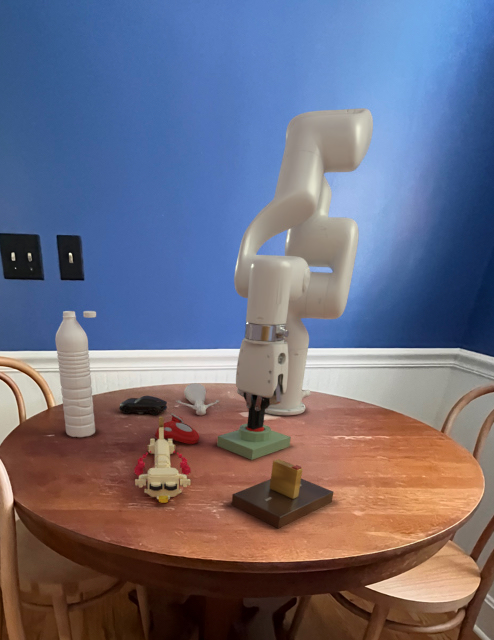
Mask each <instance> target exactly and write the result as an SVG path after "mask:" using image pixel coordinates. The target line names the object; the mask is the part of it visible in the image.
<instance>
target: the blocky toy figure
mask: <svg viewBox="0 0 494 640" xmlns="http://www.w3.org/2000/svg"><path fill="white" fill-rule="evenodd" d="M164 420H165V418H164V416H158V427H159V439H157V440H155V438H150V439H149V444H147V446H146V447H147V449H146V450H147V451H148V452H147V451H146V452H145V453H142V456H140V457H138V459H137V464H136V465H135V467H134V468H133V469H134V470H133V472H134V474H135V475H136V476H137V477H138V479H137V478H135V479H134V483H135V484H134V485H135V486H136V487H137V486H138V488H143V486H145V487H146V486H147V488H144V491H143V492H144V494H147V495H149V497H151V498H156V500H158V503H161V504H164V503H165V504H166V503H169V500H171V498H175V497H177V496H178V495H179V494H181V493H182V492H183V490H182V488H180V486H183V488H187V487H188V486H191V483H192V482H191V481H192V480H191V478H188V475H190V474H191V471H192V470H191V469H192V468H191V466H190V464H188V459H187V458H186V456H183V454H182V453H180V452H179V451H178V452H176V444H174V443H173V439H170V438H167V439H164V423H165V421H164ZM149 454H150V455H154V467H151V468H149V469H147V473H144V469H145V468H146V463H145V461H144V459H147V456H148V455H149ZM173 454H176V455H177V456H178V459H181V461H179V468H181V473H179V469H177V468H175V467H171V466H172V465H171V455H173ZM135 486H134V487H135Z"/></svg>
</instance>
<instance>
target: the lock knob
mask: <svg viewBox="0 0 494 640" xmlns="http://www.w3.org/2000/svg"><path fill="white" fill-rule="evenodd" d="M303 470H304V469H303V467H302V466H300V465H299V464H292V463H290V462H287V461H286V460H282V459H279V458H277V459H275V460H273V461H272V467H271V474H270V479H271V481H270V489H272V490H274V491H276V492H279V493H281V494H283V495H285V496H288V497H290V498H292V499H294V498H296V497H298V494H299V488H300V482H301V479H302V476H303Z"/></svg>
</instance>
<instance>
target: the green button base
mask: <svg viewBox="0 0 494 640" xmlns="http://www.w3.org/2000/svg"><path fill="white" fill-rule="evenodd" d="M247 424H248V422H247V423H243V424H241V425H240V426H239V428H238V429H237V430H233V431H230V432H227V433H223V434H220V435H217V442H216V443H217V444H216V446H217V447H219V448H221V449H224V450H226V451H229V452H230V453H231V452H232V453H234V454H236V455H238V456H241V457H243V458H247V459H248V460H251V461H253V460H256V459H258V458H261V457H264V456H267V455H270V454H273V453H275V452H278V451H281V450H284V449H287V448H290V446H291V439H292V437H291V436H289V435H286V434H284V433H281V432H278V431H275V430H272V428H271V427H270V426H268V425H267V424H263V427H264V431H261V432H254V431H249V430H246V429H247Z"/></svg>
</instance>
